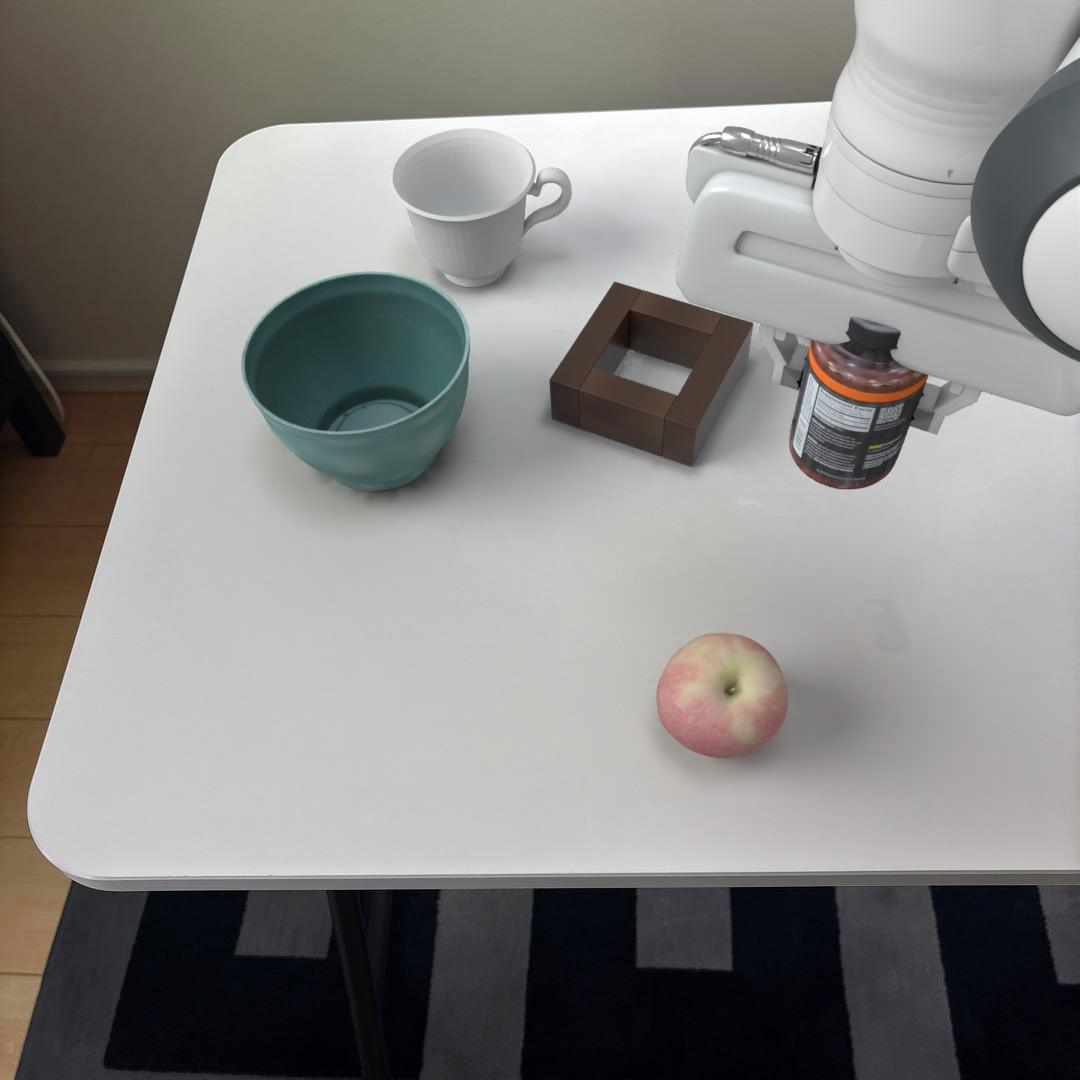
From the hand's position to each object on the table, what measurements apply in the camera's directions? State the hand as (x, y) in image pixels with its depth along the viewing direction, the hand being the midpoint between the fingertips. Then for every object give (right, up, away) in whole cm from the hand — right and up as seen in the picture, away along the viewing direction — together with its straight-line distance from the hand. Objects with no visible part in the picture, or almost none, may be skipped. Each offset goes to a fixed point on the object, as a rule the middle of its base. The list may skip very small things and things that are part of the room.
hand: (857, 400), depth 55 cm
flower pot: (-29, 0, +29) cm, 41 cm away
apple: (-5, -19, +14) cm, 24 cm away
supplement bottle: (0, -2, +4) cm, 4 cm away
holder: (-8, +5, +30) cm, 32 cm away
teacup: (-21, +17, +40) cm, 48 cm away
